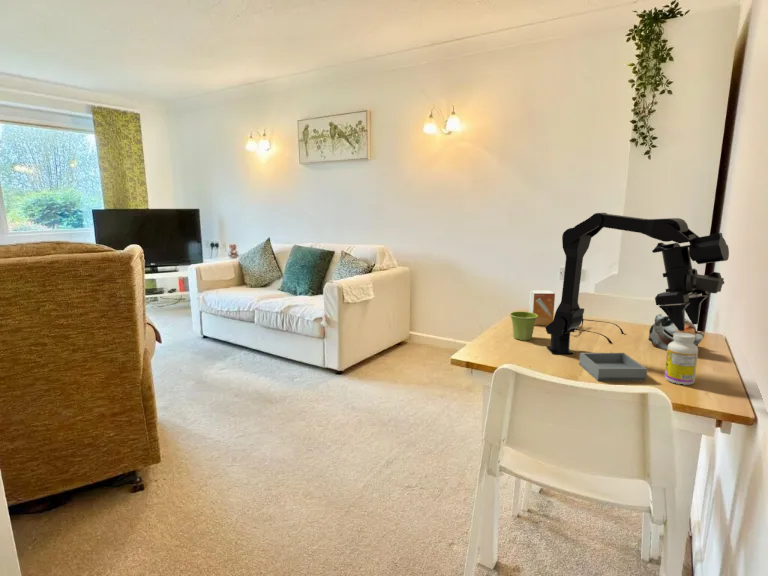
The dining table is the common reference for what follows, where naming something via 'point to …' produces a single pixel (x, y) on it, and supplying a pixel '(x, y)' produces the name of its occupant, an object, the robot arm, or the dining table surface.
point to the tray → (612, 367)
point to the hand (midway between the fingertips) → (688, 327)
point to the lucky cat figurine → (670, 332)
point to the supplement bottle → (681, 359)
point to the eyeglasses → (598, 333)
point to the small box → (542, 306)
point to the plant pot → (523, 324)
